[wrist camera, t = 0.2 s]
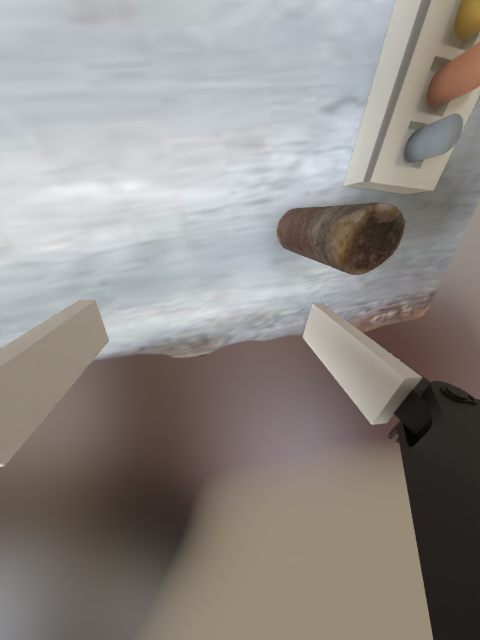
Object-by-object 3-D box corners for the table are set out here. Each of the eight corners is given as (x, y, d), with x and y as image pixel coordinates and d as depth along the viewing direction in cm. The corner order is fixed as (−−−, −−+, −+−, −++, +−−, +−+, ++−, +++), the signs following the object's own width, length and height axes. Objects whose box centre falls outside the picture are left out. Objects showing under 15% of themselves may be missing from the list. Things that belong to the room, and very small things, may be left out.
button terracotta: (438, 60, 23) (478, 32, 20) (462, 67, 24) (505, 41, 20) (421, 105, 25) (455, 87, 22) (444, 110, 26) (480, 93, 22)
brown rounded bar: (315, 238, 37) (407, 254, 20) (284, 257, 38) (345, 289, 21) (304, 200, 33) (404, 179, 16) (269, 222, 34) (329, 225, 17)
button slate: (413, 125, 26) (444, 110, 23) (435, 129, 27) (469, 116, 23) (400, 160, 28) (426, 152, 25) (421, 164, 29) (450, 156, 25)
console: (403, -28, 23) (455, -94, 18) (487, 3, 25) (554, -49, 20) (343, 186, 33) (365, 180, 28) (406, 194, 35) (437, 190, 31)
